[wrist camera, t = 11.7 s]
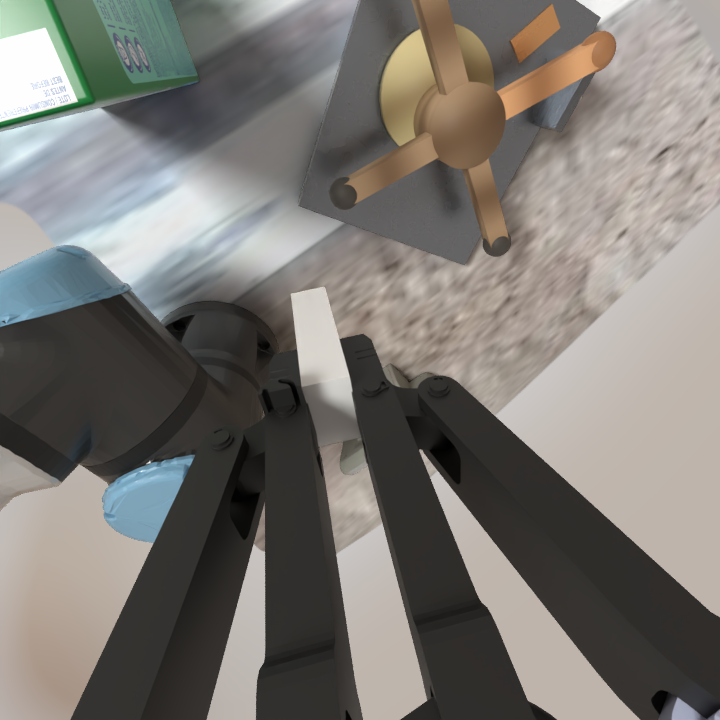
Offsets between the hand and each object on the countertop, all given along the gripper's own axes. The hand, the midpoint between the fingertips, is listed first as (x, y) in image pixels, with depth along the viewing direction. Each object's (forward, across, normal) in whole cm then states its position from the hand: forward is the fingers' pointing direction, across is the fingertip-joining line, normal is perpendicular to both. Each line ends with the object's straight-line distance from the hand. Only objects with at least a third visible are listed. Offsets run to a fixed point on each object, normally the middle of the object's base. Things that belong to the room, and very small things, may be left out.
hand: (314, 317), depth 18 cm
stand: (+28, +15, +4) cm, 32 cm away
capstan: (+26, +15, +3) cm, 30 cm away
